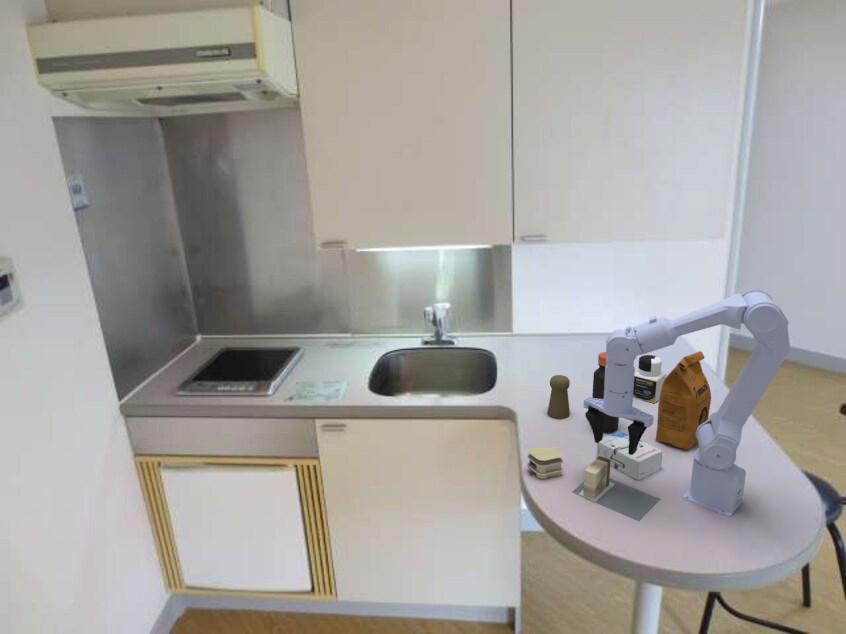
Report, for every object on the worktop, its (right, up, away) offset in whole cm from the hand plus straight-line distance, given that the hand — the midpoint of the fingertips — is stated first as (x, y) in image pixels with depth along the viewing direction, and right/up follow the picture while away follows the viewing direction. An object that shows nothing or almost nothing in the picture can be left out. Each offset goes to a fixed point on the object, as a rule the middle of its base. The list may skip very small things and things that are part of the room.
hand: (615, 446), depth 126 cm
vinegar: (+6, -1, +27) cm, 28 cm away
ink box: (+3, -3, +15) cm, 15 cm away
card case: (-4, -9, +1) cm, 10 cm away
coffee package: (+23, -3, +21) cm, 31 cm away
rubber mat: (0, -10, -1) cm, 10 cm away
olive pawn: (-4, +1, +36) cm, 36 cm away
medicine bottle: (+24, +5, +44) cm, 50 cm away
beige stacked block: (-13, -8, +8) cm, 18 cm away
